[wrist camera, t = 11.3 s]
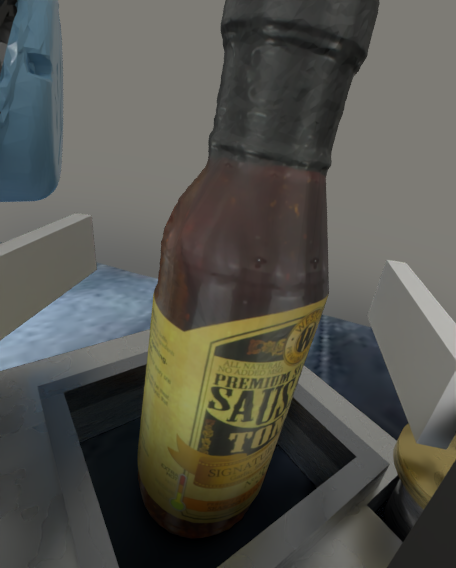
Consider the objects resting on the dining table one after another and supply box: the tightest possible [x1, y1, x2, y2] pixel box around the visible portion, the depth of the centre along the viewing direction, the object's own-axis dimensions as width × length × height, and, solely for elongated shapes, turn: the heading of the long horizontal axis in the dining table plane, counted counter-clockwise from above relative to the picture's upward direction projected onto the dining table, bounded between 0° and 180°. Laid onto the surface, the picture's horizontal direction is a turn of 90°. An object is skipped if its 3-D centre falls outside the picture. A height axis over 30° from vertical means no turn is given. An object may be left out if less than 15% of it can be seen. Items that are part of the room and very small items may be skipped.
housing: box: [0, 329, 403, 568], centre depth 16 cm, size 21×18×4 cm
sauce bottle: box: [138, 0, 379, 539], centre depth 13 cm, size 6×6×20 cm
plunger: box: [385, 424, 456, 542], centre depth 13 cm, size 4×4×4 cm
